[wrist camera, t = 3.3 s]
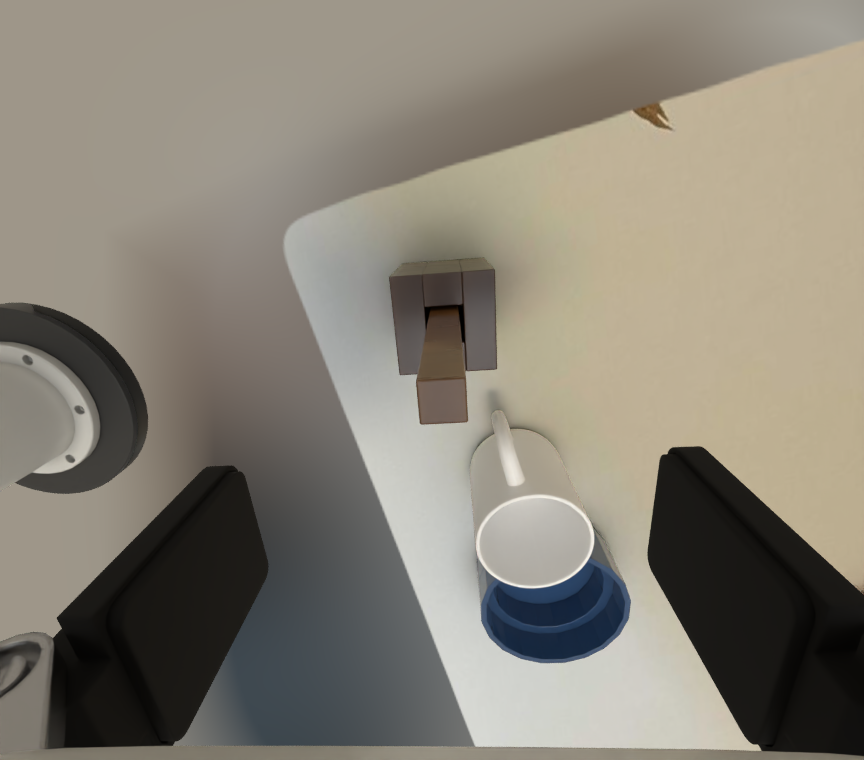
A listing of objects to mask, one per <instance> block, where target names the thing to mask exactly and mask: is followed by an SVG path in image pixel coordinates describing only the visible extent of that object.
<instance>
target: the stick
mask: <svg viewBox="0 0 864 760" xmlns="http://www.w3.org/2000/svg"><path fill="white" fill-rule="evenodd" d="M416 387H417V397H418V408H419V418H420V424H442V423H461V422H467V421H468V411H467V391H466V375H465V366H464V357H463V347H462V338H461V329H460V319H459V310H458V305H447V306H433V307H431V309H430V314H429V319H428V324H427V329H426V334H425V339H424V344H423V349H422V354H421V359H420V364H419V369H418V374H417V379H416Z"/></svg>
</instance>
